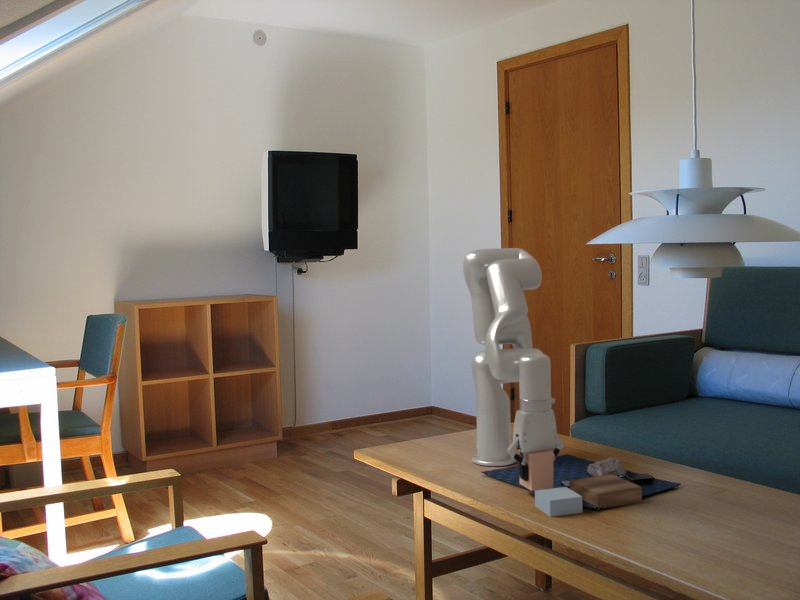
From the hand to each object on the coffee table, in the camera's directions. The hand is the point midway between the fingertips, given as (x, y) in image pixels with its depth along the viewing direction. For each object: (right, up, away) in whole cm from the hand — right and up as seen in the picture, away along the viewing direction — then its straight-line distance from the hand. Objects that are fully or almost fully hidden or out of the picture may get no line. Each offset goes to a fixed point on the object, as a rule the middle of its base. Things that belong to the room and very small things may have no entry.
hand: (536, 476), depth 197 cm
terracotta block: (0, -2, 0) cm, 2 cm away
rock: (+21, -3, +14) cm, 26 cm away
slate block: (+3, -5, -11) cm, 13 cm away
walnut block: (+16, -4, -4) cm, 17 cm away
